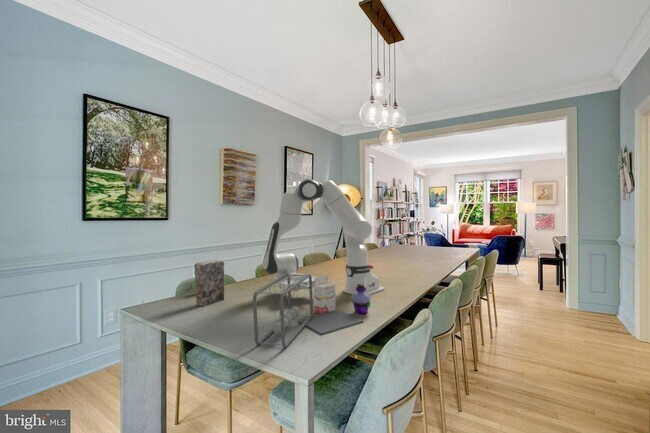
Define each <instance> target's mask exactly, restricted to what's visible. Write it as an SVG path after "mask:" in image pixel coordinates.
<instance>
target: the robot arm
mask: <svg viewBox="0 0 650 433" xmlns="http://www.w3.org/2000/svg"><path fill="white" fill-rule="evenodd" d="M317 199H320V200H321V201H322V202H323V203H324V205H325V206H326V207H327V209H328V210H329V211H330V212H331V214H332V215H333V217H334V218H335V219H336V220H337V221H338V222H339V223H340V224H341V225H342V231H343V237H344V242H345V250H346V251H345V252H346V264H345V274H346V276H345V278H346V280H345V283H344V284H345V286H344V288H343V289H344V290H343V292H344V293H346V294H349V295H354V294H358V292H357V291H356V287H358V286H357V284H364V287H366V291H364V294H368V295H370V296H372V295H373V294H376V293H378V292H382V291H384V290H385V286H383V285H381V282H380V279H379V277H378V276H376V274H374V273H373V272H372V271H371V270H373V269H374V268H375V267H374V265H373V264H369V263H368V248H367V246H366V242H365V240H367V239H368V238H369V237H370V236H371V235H372V232H373V227H372V225H371V223H370V222H369V221H368V220H367V219H366V218H365V217H364V216H363V215H362V213H360V212H359V211H358V209H357V208H355V206H353V204H352V203H351V202H350V200H349V199H348V197H347V196H346V194H345V193H344V192H343V190H342V189H341V188H340V187H339V186H338V185H337V184H336V183H335V182H334V181H333V180H331V179H327V180H324V181H322V182H319V181H316V180H315V179H314V180H313V179H311V178H310V179H309V178H308V179H307V178H306V179H302V180H301V181H300V183H299V184H298V186H297V187H296V189H295V190H293V191H290V190H289V191H286V192H285V193H283V195H282V199H281V202H280V205H279V206H280V207H279V215H278V218H277V221H275V222H274V223H273V224H272V226H271V230H270V233H269V238H268V240H267V241H268V242H267V246H266V250H265V254H264V256H263V258H262V262H261V263H262V264H261V265H262V269H263V271H264V272H265V273H267V274H268V275H273V274H274V275H273V278H274V279H273V280H274V281H275V280H276V279H278V278H280V277H281V276H283V275H285V274H287V273H288V274H292V275H308V274H309V273H298V270H299V266H300V265H299V264H300V262H299V259H298V257H297V256H296V254H295V253H293V252H284V253H277V251H278V247H279V246H278V245H279V242H280V239H281V237H282V236H283V235H285V234H287V233H289V232H292V231H294V230H295V229H297V228H299V227H298V226H300V224H301V220H302V208H303V204H304V203H305V202H311V201H315V200H317ZM292 275H291V276H290V283H293V282H294V281H296V280H297V279H299V278H300V277H302V276H292ZM303 277H305V276H303ZM303 277H302V278H303ZM311 277H312V288H314V283H315V278H318V276H314V275H311ZM285 278H286V277H285ZM302 278H301V279H302ZM301 279H299V280H301ZM282 280H283V279H282ZM285 280H287V278H286V279H285ZM299 280H298V281H299ZM280 281H281V280H280ZM280 281H279V282H280ZM298 281H296V282H298ZM319 281H321V279H320V280H319ZM277 283H278V282H277ZM286 283H288V281H284V282H283V281H282V282H280V283H278V284H277V285H276V287H277V288H279V289H280V288H281V290H282V289H284V288H286V287H287V286H288V284H286ZM279 284H280V286H279ZM294 284H295V283H293V284H292V285H294ZM284 285H285V287H284ZM290 287H291V286H290ZM297 289H298V291H300V290H309V277H308V278H307V279H306V280H304V281H303V282H302V283H300V284H299V285H298V286H296V287H295V290H294V289H292V290H291V292H298V291H297ZM281 290H280V291H281ZM286 290H287V288H286ZM284 291H285V290H284ZM284 291H283V292H284Z"/></svg>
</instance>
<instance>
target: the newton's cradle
mask: <svg viewBox="0 0 650 433" xmlns="http://www.w3.org/2000/svg"><path fill="white" fill-rule="evenodd" d="M307 274H308V275H292V274H288V273H287V274H285V275H283V276H281V277H280V278H278V279H276V280H275V279H274V280H273V281H270V282H269V283H268V284H266V285H264V286H263V287H261V288H259V289H257V290H256V291H254V292H253V296H252V311H253V312H252V314H253V330H254V335H253V336H254V343H255V345H256V346H260V345H271V346H281V347H283V348H287V347H288V346H289V345H290V344H291V343H292V342H293V340H294V339H295V338H296V337H297V335H299V333H300V332H301V331H302V330H303V328H304V327H306V326H305V325H306V324H307V322H308V321H309V320H310V319H311V318H312V317H313V316H314V302H313V300H314V296H313V287H312V277H311V276H312V275H311V274H310V273H307ZM291 275H292V276H302V277H303V276H305V277H303V278H302V277H300V278H299V279H301V278H302V279H301V280H299V279H297V280H296V281H298V280H299V281H298V282H296V281H294V282H293V283H295V284H294V285H292V284H293V283H290V276H291ZM285 277H286V278H287V280H285V279H286V278H285ZM308 277H309V289H308V290H309V292H308V293H309V309H310V310H309V312H310V313H309V315H301V314H300V308H299V307H298V306H296V304H297V302H295V304H294V300H292V299H293V298H294V296H295V293H293V294H292V291H291V290H292V289H294V290H295V287H296V286H298V285H299V284H300V283H302V282H303V281H304V280H306V279H307V278H308ZM282 279H283V280H282ZM280 280H281V281H280ZM279 281H280V282H282V281H283V282H284V281H288V283H286V284H288V286H287V287H286V288H287V290H286V288H284V289H282V290H281V288H280V287H279V290H280V291H279V292H277V288H275V287H276V286H277V285H278V283H280V282H279ZM277 282H278V283H277ZM279 286H280V284H279ZM290 286H291V287H290ZM273 287H274V290H275V292H271V289H273ZM284 287H285V285H284ZM284 290H285V291H284ZM267 291H269V292H267ZM298 291H299V290H298V289H297V291H296V292H298ZM259 294H264V295H266V294H267V295H270V296H271V298H270V299H271V302H272V306H273V308H275V306H274V301H273V295H276V296H278V295H280V296H279V298H278V297H276V299H277V303H278V304H277V305H279V306H278V308H279V316H278V319H275V322H273V324H272V326H271V329H270V330H268V332H267V333H266V334H265V335H264V336H263V337H262V338H260V339H259V328H258V327H259V326H258V304H257V303H258V302H257V297H258V295H259ZM292 295H293V296H292ZM284 297H286V299H285V302H284ZM297 297H298V295H296V297H295V300H297V299H298V298H297ZM286 302H287V307H288V308H287V311H286ZM273 312H274V313H276V312H275V309H273ZM299 314H300V315H299ZM274 315H275V318H277V317H276V316H277V315H276V314H274ZM296 317H299V318H300V317H303V318H305V319H306V318H307V319H306V320H305V321H304V322H303V324H301V325H300V326H299V327H298V328H297V329H296V330H295V331H294V333H293V334H292V335H291V336H290V337H289V338H288V339H287V341H286V332H285V328H286V327H287V326H288V324H291V323H292V321H293V320H294V319H296ZM273 333H275V334H281V335H280V337H281V340H280V341H281V343H272V342H265V341H266V340H267V339H268V337H270V336H271V335H272V334H273Z"/></svg>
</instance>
